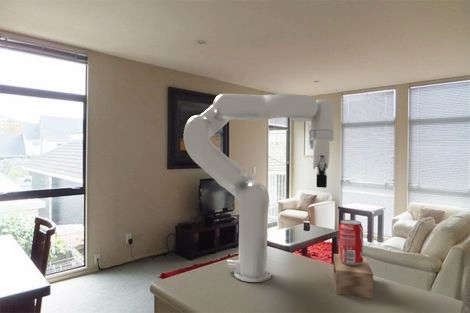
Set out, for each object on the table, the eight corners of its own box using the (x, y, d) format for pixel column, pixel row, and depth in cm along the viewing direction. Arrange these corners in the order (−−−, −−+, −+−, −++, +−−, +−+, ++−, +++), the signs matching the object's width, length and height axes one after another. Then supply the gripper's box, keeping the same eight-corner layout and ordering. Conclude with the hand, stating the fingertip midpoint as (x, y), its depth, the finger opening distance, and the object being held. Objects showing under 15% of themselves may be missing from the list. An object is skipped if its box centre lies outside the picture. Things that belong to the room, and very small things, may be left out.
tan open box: (336, 293, 91) (336, 270, 91) (333, 273, 107) (333, 253, 107) (372, 298, 89) (373, 273, 89) (364, 277, 104) (364, 256, 104)
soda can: (365, 267, 94) (365, 224, 94) (340, 265, 95) (341, 223, 95) (360, 259, 101) (360, 219, 101) (337, 258, 102) (337, 218, 102)
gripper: (311, 137, 116) (310, 183, 116) (310, 134, 99) (309, 188, 99) (332, 137, 114) (331, 184, 114) (334, 134, 97) (334, 189, 97)
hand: (321, 186), depth 106 cm, fingers open, 9 cm apart
